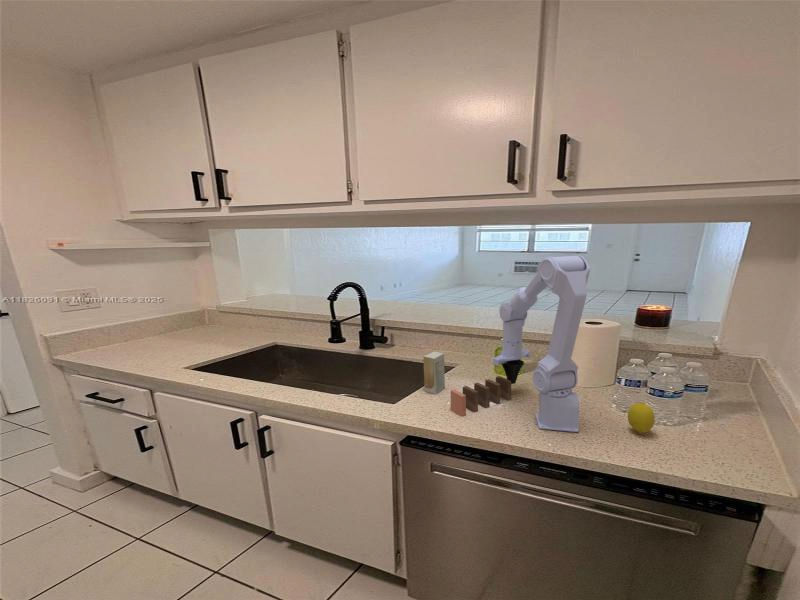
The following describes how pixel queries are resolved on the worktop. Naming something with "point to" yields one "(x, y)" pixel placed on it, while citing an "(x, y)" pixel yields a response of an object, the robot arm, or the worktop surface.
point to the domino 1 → (458, 403)
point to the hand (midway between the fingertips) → (511, 382)
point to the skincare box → (434, 372)
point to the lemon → (641, 417)
